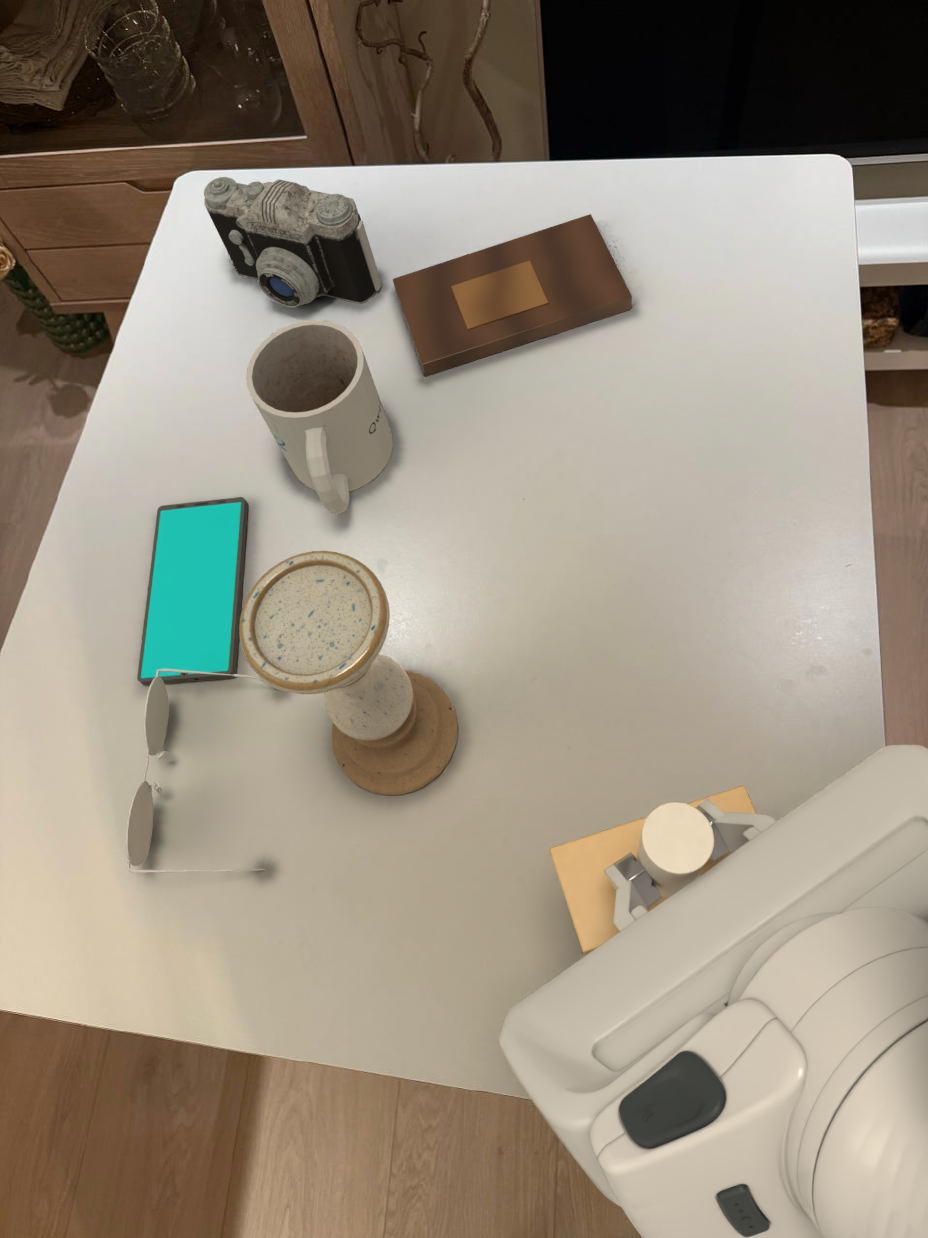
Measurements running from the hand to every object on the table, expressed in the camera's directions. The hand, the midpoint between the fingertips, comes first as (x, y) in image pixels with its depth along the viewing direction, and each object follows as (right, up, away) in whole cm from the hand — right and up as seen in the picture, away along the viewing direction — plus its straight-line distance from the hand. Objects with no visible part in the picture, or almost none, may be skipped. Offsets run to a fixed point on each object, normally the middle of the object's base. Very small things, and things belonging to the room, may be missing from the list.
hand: (660, 845), depth 40 cm
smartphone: (-29, +12, +29) cm, 43 cm away
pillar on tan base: (+1, -3, +6) cm, 6 cm away
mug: (-19, +22, +32) cm, 43 cm away
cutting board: (-5, +37, +36) cm, 52 cm away
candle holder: (-13, +2, +22) cm, 26 cm away
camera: (-23, +40, +41) cm, 61 cm away
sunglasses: (-26, -1, +23) cm, 35 cm away
